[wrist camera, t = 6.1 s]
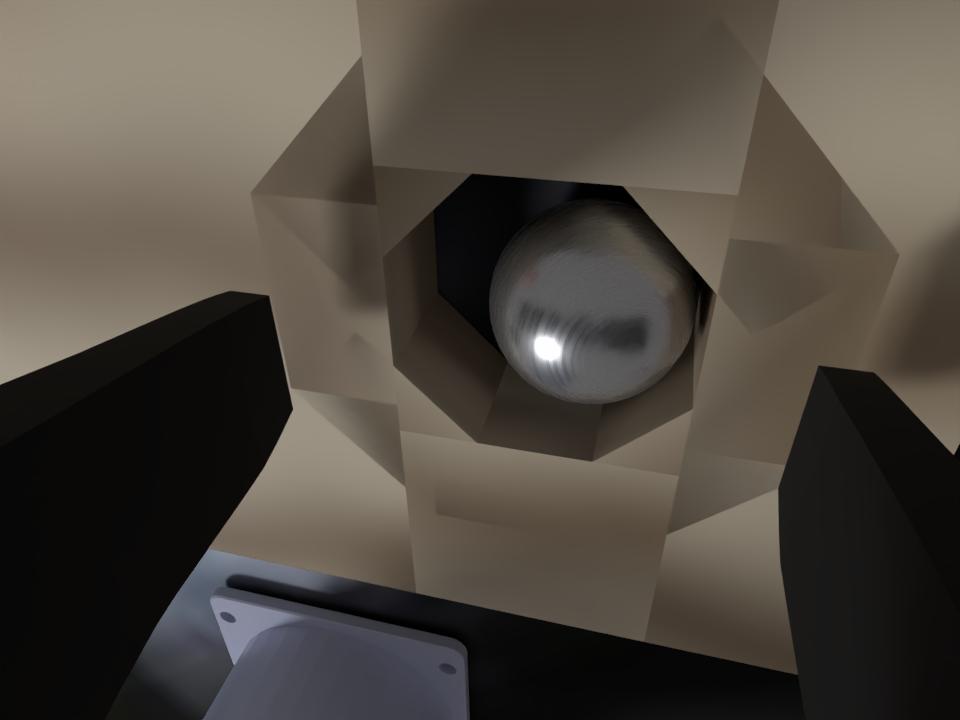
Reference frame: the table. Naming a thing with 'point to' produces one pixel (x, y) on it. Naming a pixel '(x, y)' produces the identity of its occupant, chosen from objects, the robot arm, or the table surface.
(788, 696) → the table surface
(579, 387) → the steel ball
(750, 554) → the maple board
